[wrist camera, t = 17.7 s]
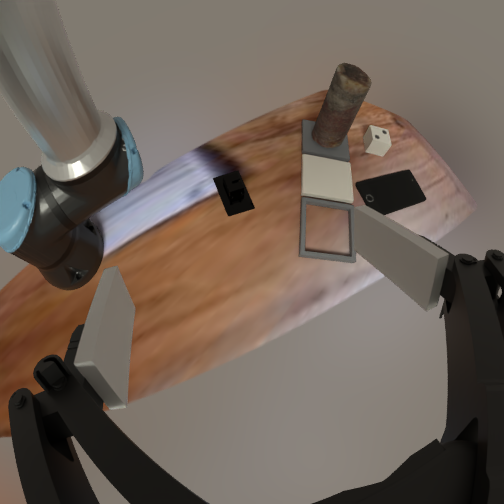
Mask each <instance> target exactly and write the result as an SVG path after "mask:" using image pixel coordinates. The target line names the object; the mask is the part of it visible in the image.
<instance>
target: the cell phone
mask: <svg viewBox="0 0 504 504" xmlns="http://www.w3.org/2000/svg"><path fill="white" fill-rule="evenodd" d="M356 187H357V189H358V191H359V193H360V195H361V197H362V198H363V200H364V202H365V204H366V206H368V207H369V208H371V209H373V210H375V211H377V212H379V213H381V214H382V215H386V214H389V213H392V212H395V211H398V210H400V209H403V208H406V207H409V206H412V205H415V204H418V203H420V202H423V201H425V200H426V197H425V195H424V193H423V192H422V190H421V188H420V186H419V185H418V183H417V181H416V179H415V178H414V176H413V174H412V173H411V171H410V170H405V171H401V172H397V173H393V174H388V175H384V176H380V177H376V178H372V179H368V180H364V181H361V182H357V183H356Z"/></svg>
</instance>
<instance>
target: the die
mask: <svg viewBox="0 0 504 504" xmlns="http://www.w3.org/2000/svg"><path fill="white" fill-rule="evenodd" d="M363 140H364V146H365V152H367V153H371V154H375V155H379V156H384V155H385V153H386V152H387V151H388V149H389V148H390V146H391V140H390V136H389V132H388V130H387V129H383V128H380V127H376V126H373V125H370V126H369V128H368V129H367V131H366V133H365V135H364V136H363Z"/></svg>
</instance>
